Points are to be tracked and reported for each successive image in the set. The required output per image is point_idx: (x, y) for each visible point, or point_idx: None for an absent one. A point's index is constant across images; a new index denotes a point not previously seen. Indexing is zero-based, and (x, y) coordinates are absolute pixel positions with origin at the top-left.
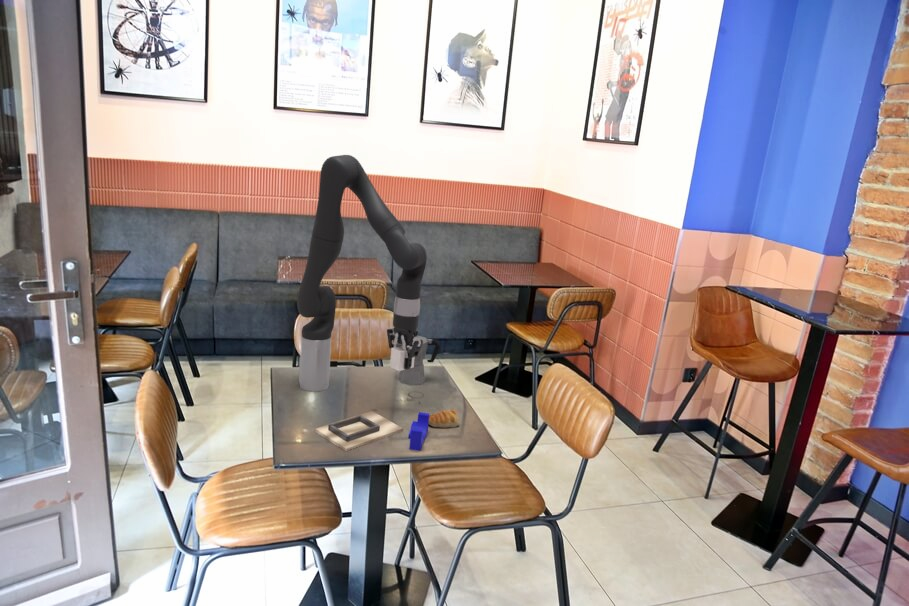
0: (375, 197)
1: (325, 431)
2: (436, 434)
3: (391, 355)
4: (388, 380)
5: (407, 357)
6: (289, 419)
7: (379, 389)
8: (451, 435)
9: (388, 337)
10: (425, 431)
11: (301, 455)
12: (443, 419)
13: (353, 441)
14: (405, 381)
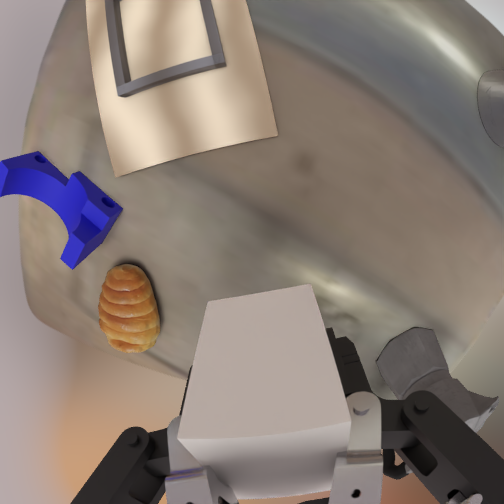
0: None
1: None
2: (88, 257)
3: (321, 354)
4: (442, 305)
5: (171, 422)
6: None
7: (420, 258)
8: (80, 286)
9: (483, 455)
10: (66, 225)
11: None
12: (100, 302)
13: (105, 14)
14: (405, 338)
